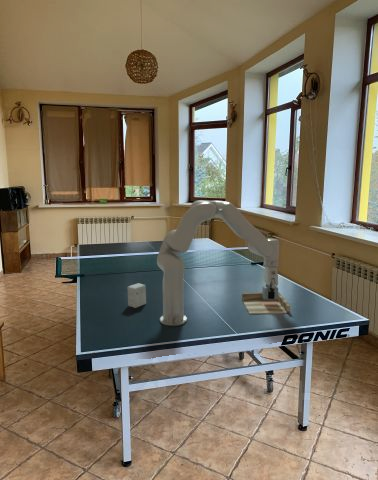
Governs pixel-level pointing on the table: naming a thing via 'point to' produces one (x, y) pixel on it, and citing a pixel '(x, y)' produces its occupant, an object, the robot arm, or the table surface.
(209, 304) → the table surface
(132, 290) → the small box
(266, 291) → the grey block
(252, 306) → the wooden tray
